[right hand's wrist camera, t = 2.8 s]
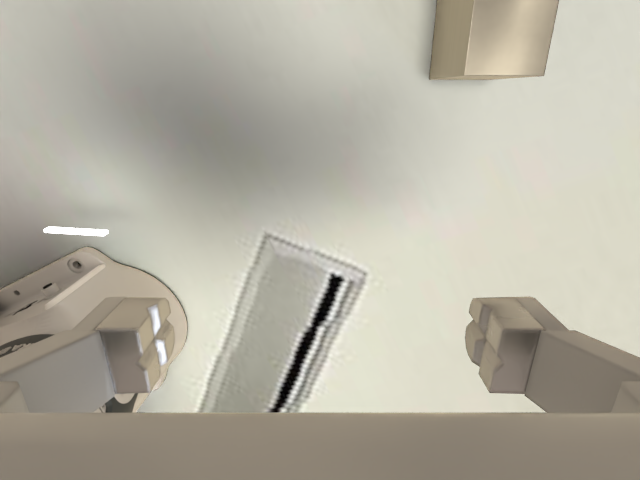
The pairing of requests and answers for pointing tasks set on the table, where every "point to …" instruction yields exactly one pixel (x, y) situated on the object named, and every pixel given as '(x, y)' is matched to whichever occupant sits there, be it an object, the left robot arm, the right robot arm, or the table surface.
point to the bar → (491, 39)
